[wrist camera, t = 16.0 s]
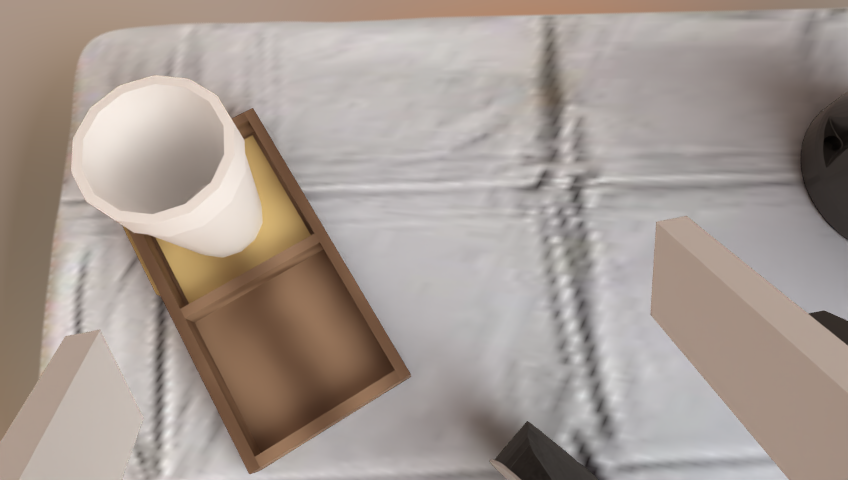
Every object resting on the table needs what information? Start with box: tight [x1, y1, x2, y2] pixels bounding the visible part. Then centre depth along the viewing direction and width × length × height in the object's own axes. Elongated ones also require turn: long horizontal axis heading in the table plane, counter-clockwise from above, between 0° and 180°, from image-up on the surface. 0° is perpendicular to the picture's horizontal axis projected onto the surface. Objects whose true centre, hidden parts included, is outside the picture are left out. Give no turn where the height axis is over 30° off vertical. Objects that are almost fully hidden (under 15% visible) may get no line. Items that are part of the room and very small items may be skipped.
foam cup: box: [71, 75, 263, 257], centre depth 41 cm, size 10×9×13 cm
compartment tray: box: [122, 108, 411, 474], centre depth 45 cm, size 13×24×3 cm, turn 32°
